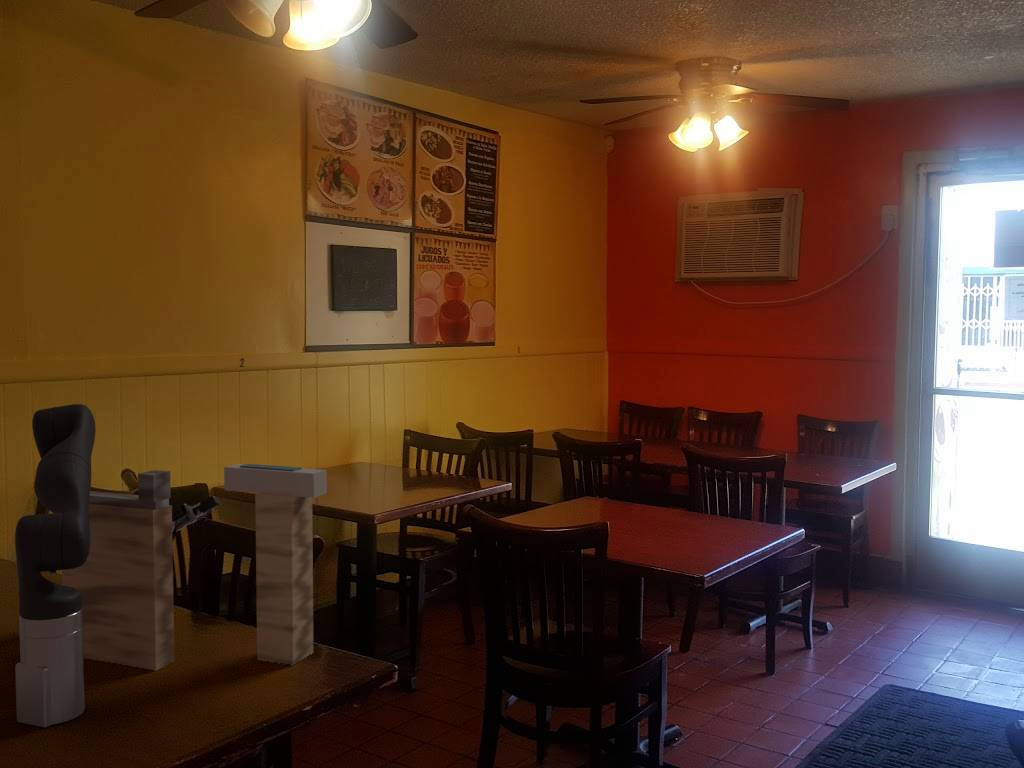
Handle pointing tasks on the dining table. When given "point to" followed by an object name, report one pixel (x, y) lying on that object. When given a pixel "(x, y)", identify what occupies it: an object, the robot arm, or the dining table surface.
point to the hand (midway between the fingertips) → (201, 503)
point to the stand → (284, 577)
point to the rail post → (129, 576)
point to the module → (275, 480)
